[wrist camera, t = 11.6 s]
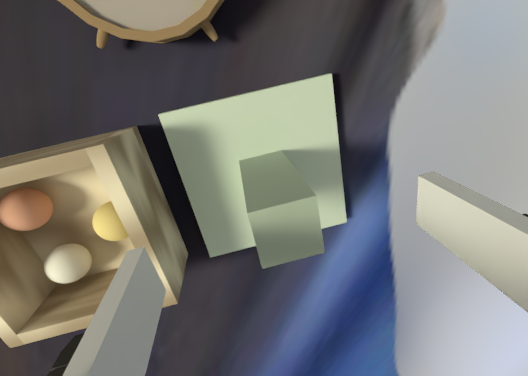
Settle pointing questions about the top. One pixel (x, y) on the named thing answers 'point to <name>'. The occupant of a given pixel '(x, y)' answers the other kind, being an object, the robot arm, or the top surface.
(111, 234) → the ball mustard
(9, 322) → the box
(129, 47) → the top surface
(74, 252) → the ball cream
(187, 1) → the alarm clock
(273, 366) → the top surface
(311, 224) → the lid
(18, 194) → the ball terracotta
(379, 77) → the top surface
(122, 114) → the top surface
